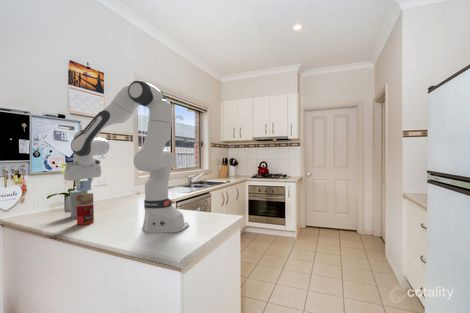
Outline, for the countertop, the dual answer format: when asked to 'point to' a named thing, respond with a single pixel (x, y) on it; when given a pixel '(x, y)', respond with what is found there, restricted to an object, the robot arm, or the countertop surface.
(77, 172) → the robot arm
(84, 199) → the walnut block
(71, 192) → the skincare box
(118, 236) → the countertop surface
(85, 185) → the slate block
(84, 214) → the canned food
